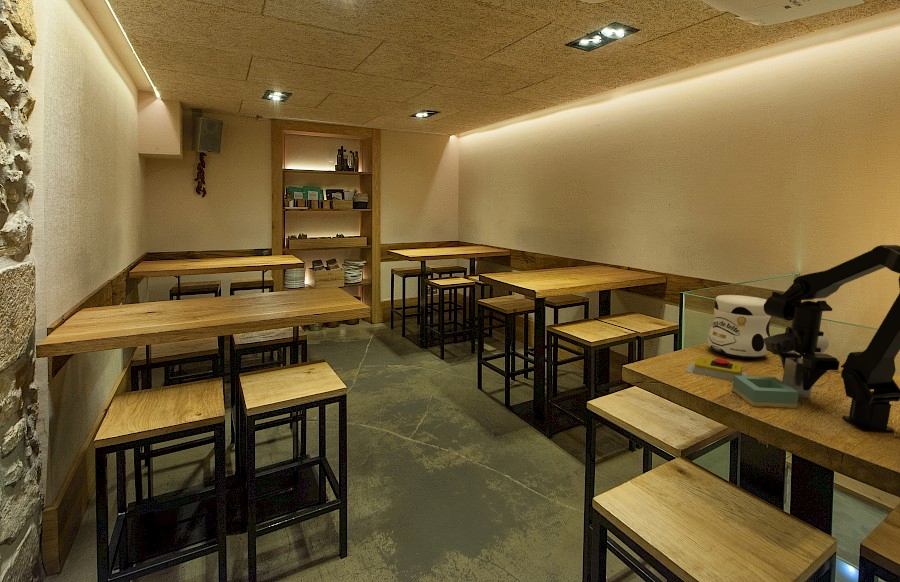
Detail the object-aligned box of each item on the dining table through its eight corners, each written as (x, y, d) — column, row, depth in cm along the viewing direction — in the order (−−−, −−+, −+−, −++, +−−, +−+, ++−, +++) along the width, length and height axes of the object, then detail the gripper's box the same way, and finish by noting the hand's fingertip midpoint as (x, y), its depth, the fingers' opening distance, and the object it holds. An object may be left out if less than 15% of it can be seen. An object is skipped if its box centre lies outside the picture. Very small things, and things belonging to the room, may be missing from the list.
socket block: (796, 408, 114) (799, 392, 114) (752, 406, 115) (754, 390, 114) (772, 391, 124) (774, 377, 123) (732, 390, 125) (734, 375, 124)
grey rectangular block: (809, 398, 120) (815, 363, 119) (791, 397, 121) (796, 363, 119) (798, 391, 125) (804, 358, 123) (781, 390, 125) (785, 357, 123)
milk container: (701, 354, 154) (708, 300, 151) (711, 342, 168) (717, 292, 164) (765, 366, 144) (774, 307, 140) (770, 352, 157) (778, 298, 154)
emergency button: (747, 369, 129) (686, 358, 137) (745, 385, 130) (684, 373, 138) (749, 360, 136) (691, 351, 145) (747, 375, 137) (689, 365, 146)
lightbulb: (828, 373, 138) (835, 336, 136) (805, 371, 140) (810, 335, 138) (817, 366, 144) (823, 330, 142) (794, 364, 146) (800, 329, 143)
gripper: (751, 315, 129) (744, 370, 132) (794, 334, 111) (785, 398, 114) (795, 317, 128) (787, 372, 131) (846, 336, 110) (835, 400, 113)
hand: (796, 384), depth 122 cm, fingers open, 7 cm apart
